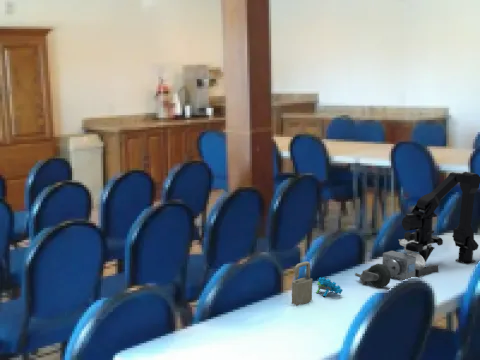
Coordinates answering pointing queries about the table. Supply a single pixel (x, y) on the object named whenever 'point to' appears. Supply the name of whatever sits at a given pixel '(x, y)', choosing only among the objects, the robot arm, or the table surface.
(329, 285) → the blue toy creature
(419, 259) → the white folded round lump
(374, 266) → the caster wheel
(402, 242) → the showerhead
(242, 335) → the table surface
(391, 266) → the bracket
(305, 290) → the padlock
